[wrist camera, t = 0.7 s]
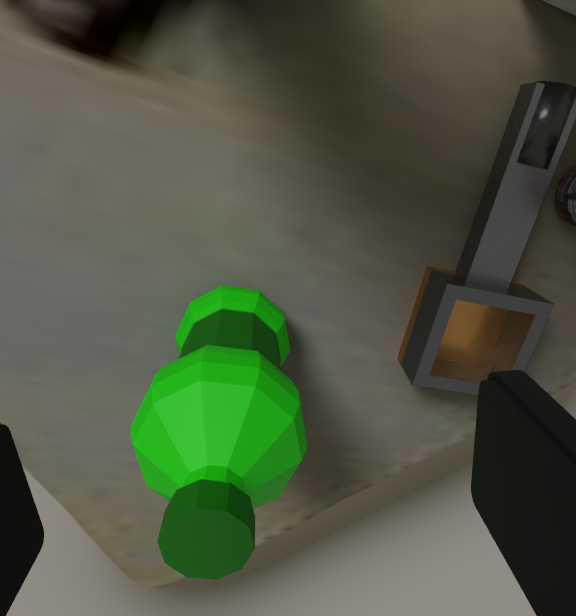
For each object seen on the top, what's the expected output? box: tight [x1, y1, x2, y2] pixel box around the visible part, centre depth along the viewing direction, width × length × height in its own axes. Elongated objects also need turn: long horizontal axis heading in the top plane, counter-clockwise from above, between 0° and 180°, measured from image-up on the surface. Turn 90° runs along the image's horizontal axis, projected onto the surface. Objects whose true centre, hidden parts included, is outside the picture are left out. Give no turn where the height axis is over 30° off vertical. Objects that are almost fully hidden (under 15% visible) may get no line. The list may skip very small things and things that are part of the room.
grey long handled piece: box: [397, 81, 576, 395], centre depth 40 cm, size 26×10×5 cm, turn 168°
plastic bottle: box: [130, 285, 308, 579], centre depth 32 cm, size 10×10×25 cm
